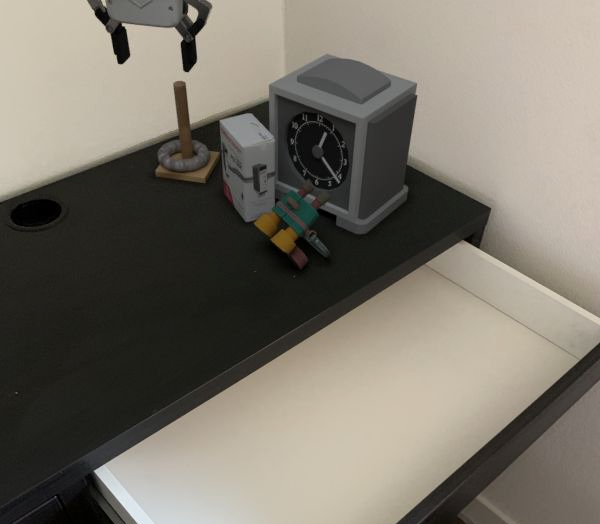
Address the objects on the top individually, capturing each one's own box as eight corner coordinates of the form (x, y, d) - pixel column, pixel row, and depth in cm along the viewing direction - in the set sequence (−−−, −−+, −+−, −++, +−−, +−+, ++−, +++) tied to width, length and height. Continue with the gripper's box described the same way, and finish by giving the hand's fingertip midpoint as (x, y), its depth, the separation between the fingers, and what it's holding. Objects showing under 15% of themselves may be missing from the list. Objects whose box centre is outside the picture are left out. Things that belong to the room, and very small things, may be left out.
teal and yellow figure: (277, 251, 94) (241, 211, 86) (323, 205, 93) (292, 160, 85) (314, 287, 89) (280, 248, 81) (363, 238, 88) (334, 194, 80)
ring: (151, 170, 102) (149, 159, 100) (168, 145, 107) (167, 134, 106) (200, 177, 101) (199, 166, 100) (216, 151, 106) (215, 140, 105)
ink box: (222, 194, 100) (217, 117, 91) (251, 186, 101) (249, 110, 92) (246, 224, 95) (242, 146, 86) (276, 216, 96) (276, 138, 87)
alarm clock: (261, 191, 100) (258, 66, 87) (312, 157, 107) (317, 36, 94) (362, 236, 93) (376, 108, 80) (410, 196, 100) (430, 72, 87)
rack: (155, 176, 102) (142, 92, 93) (173, 151, 108) (162, 68, 98) (205, 183, 102) (197, 98, 92) (220, 157, 107) (214, 75, 97)
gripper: (57, -80, 79) (88, 68, 92) (195, -67, 77) (207, 82, 90) (83, -95, 84) (109, 47, 97) (214, -84, 82) (223, 60, 95)
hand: (156, 64), depth 93 cm, fingers open, 9 cm apart
